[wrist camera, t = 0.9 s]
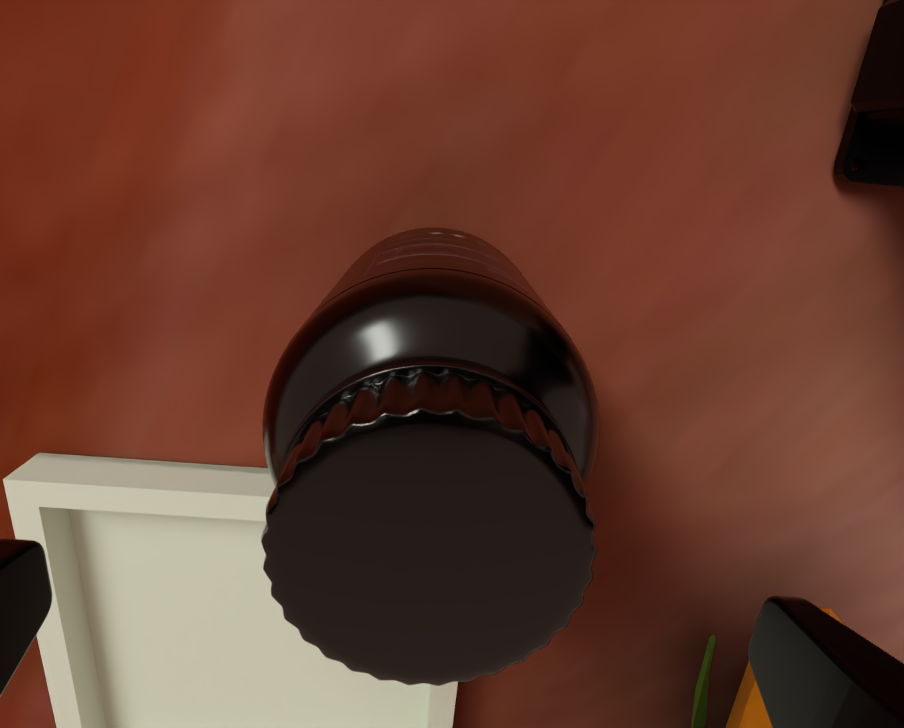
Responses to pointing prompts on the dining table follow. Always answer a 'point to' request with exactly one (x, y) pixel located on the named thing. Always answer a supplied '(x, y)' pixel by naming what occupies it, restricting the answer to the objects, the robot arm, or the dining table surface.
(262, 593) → the tray
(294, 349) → the supplement bottle
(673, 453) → the dining table surface
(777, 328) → the dining table surface
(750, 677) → the corn
